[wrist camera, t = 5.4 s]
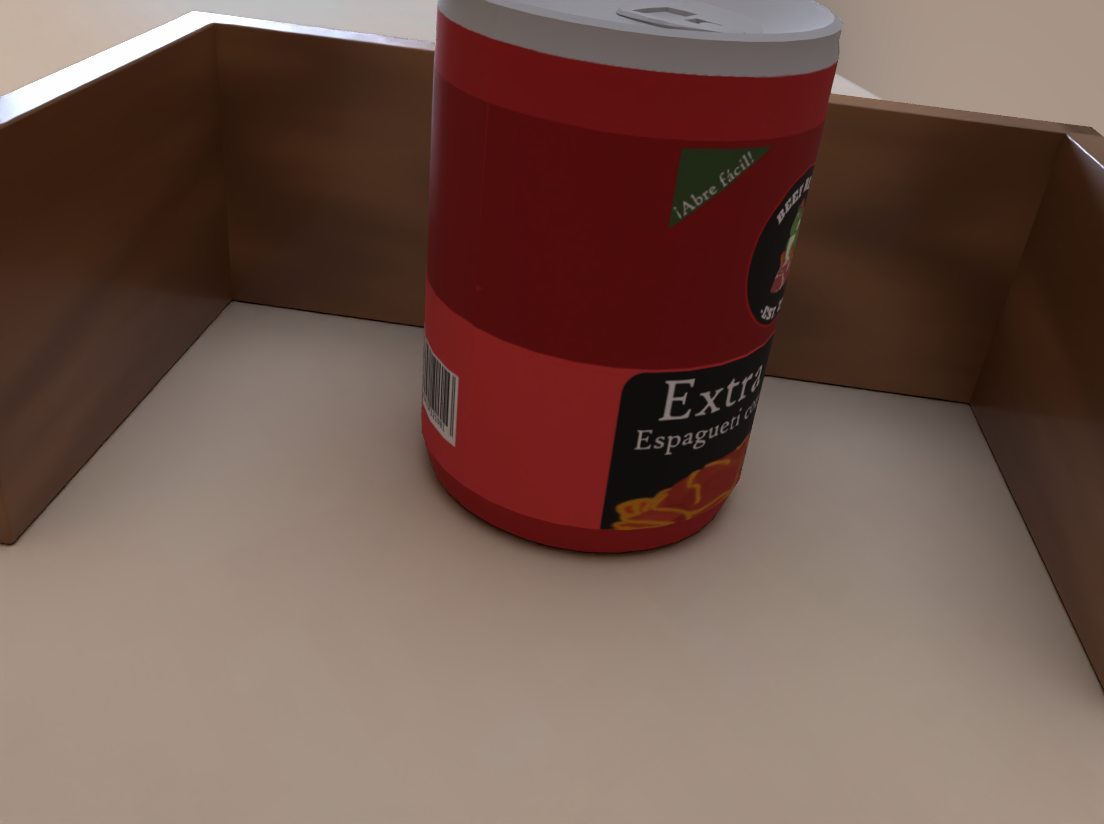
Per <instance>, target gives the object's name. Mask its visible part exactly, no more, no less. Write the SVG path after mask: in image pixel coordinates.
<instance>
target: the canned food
mask: <svg viewBox="0 0 1104 824" xmlns="http://www.w3.org/2000/svg"><path fill="white" fill-rule="evenodd" d="M842 25H843V22H842V21H841V20H840V19H839V18H838V16H837V15H836V14H834V13H833V12H832V11H830V10H829V9H827V8H825V7H824V6H822V5H820V4H818V3H817V2H814V1H812V0H438V2H437V26H436V46H435V55H434V74H433V102H432V131H431V159H430V187H429V216H428V244H427V272H426V300H425V329H424V357H423V385H422V414H421V417H422V434H423V437H424V440H425V444H426V447H427V450H428V453H429V457H430V460H431V462H432V465H433V468H434V470H435V473H436V475H437V477H438V479H439V480H440V482H441V483H442V484H443V486H444V487H445V488H446V490H447V491H448V492H449V494H450V495H451V496H453V497H454V498H455V499H456V500H457V501H458V502H459V503H461V504H462V505H463V506H464V507H465V508H466V509H467V510H469V511H470V512H472V513H473V514H475V515H477V516H478V517H480V518H482V519H483V520H485V521H487V522H488V523H490V524H492V525H493V526H496V527H498V528H500V529H503V530H505V531H507V532H510V533H512V534H514V535H517V536H519V537H521V538H524V539H527V540H531V541H534V542H538V543H542V544H545V545H549V546H552V547H557V548H564V549H570V550H577V551H584V552H611V553H618V552H627V551H637V550H647V549H652V548H655V547H659V546H663V545H667V544H671V543H674V542H677V541H679V540H681V539H683V538H685V537H688V536H690V535H692V534H694V533H696V532H698V531H699V530H700V529H701V528H703V527H704V526H705V525H706V524H708V523H709V522H710V521H711V520H712V519H714V517H715V516H716V514H717V513H718V511H719V510H720V508H721V507H722V505H723V503H724V502H725V500H726V499H727V497H728V496H729V494H730V493H731V491H732V490H733V488H734V487H735V485H736V484H737V482H738V481H739V479H740V474H741V470H742V466H743V462H744V458H745V454H746V449H747V445H748V441H749V437H750V433H751V429H752V424H753V420H754V416H755V412H756V408H757V403H758V399H759V395H760V391H761V387H762V383H763V378H764V374H765V370H766V366H767V362H768V357H769V353H770V349H771V345H772V341H773V337H774V332H775V328H776V324H777V320H778V316H779V312H780V307H781V303H782V299H783V295H784V291H785V286H786V282H787V278H788V274H789V270H790V266H791V261H792V257H793V253H794V249H795V245H796V241H797V236H798V232H799V228H800V224H801V220H802V215H803V211H804V207H805V203H806V199H807V195H808V190H809V186H810V182H811V178H812V174H813V170H814V165H815V161H816V157H817V153H818V149H819V144H820V140H821V136H822V132H823V128H824V124H825V119H826V114H827V109H828V103H829V97H830V93H831V88H832V84H833V80H834V76H835V71H836V67H837V63H838V58H839V39H840V34H841V30H842Z"/></svg>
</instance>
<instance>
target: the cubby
mask: <svg viewBox="0 0 1104 824" xmlns="http://www.w3.org/2000/svg"><path fill="white" fill-rule="evenodd" d="M435 46H436V43H435V42H427V41H419V40H412V39H404V38H396V37H388V36H381V35H373V34H365V33H357V32H350V31H342V30H334V29H326V28H319V27H311V26H303V25H295V24H288V23H280V22H272V21H264V20H257V19H249V18H241V17H233V16H226V15H218V14H210V13H202V12H195V11H194V12H191V13H189V14H187V15H185V16H182V17H180V18H179V19H176V20H174V21H172V22H170V23H167V24H165V25H163V26H161V27H158V28H156V29H154V30H152V31H149V32H147V33H145V34H142V35H140V36H138V37H136V38H133V39H131V40H129V41H127V42H124V43H122V44H120V45H118V46H115V47H113V48H111V49H109V50H106V51H104V52H102V53H99V54H97V55H95V56H93V57H90V58H88V59H86V60H84V61H81V62H79V63H77V64H75V65H72V66H70V67H68V68H65V69H63V70H61V71H59V72H56V73H54V74H52V75H50V76H47V77H45V78H43V79H41V80H38V81H36V82H34V83H31V84H29V85H27V86H25V87H22V88H20V89H18V90H16V91H13V92H11V93H9V94H7V95H4V96H2V97H0V542H2V543H8V544H11V543H13V542H14V541H15V540H16V539H17V538H18V537H19V536H20V535H21V534H22V532H23V531H24V530H25V529H26V528H27V527H28V526H29V525H30V524H31V522H32V521H33V520H34V519H35V518H36V517H37V516H38V515H39V513H40V512H41V511H42V510H43V509H44V508H45V507H46V506H47V505H48V503H49V502H50V501H51V500H52V499H53V498H54V497H55V496H56V495H57V493H58V492H59V491H60V490H61V489H62V488H63V487H64V486H65V485H66V483H67V482H68V481H69V480H70V479H71V478H72V477H73V476H74V474H75V473H76V472H77V471H78V470H79V469H80V468H81V467H82V466H83V464H84V463H85V462H86V461H87V460H88V459H89V458H90V457H91V456H92V454H93V453H94V452H95V451H96V450H97V449H98V448H99V447H100V446H101V444H102V443H103V442H104V441H105V440H106V439H107V438H108V437H109V436H110V434H111V433H112V432H113V431H114V430H115V429H116V428H117V427H118V425H119V424H120V423H121V422H122V421H123V420H124V419H125V418H126V417H127V415H128V414H129V413H130V412H131V411H132V410H133V409H134V408H135V407H136V405H137V404H138V403H139V402H140V401H141V400H142V399H143V398H144V397H145V395H146V394H147V393H148V392H149V391H150V390H151V389H152V388H153V386H154V385H155V384H156V383H157V382H158V381H159V380H160V379H161V378H162V376H163V375H164V374H165V373H166V372H167V371H168V370H169V369H170V368H171V366H172V365H173V364H174V363H175V362H176V361H177V360H178V359H179V358H180V356H181V355H182V354H183V353H184V352H185V351H186V350H187V349H188V348H189V346H190V345H191V344H192V343H193V342H194V341H195V340H196V339H197V337H198V336H199V335H200V334H201V333H202V332H203V331H204V330H205V329H206V327H207V326H208V325H209V324H210V323H211V322H212V321H213V320H214V319H215V317H216V316H217V315H218V314H219V313H220V312H221V311H222V310H223V309H224V307H225V306H226V305H227V304H228V303H229V302H230V301H231V300H239V301H246V302H253V303H260V304H267V305H275V306H282V307H289V308H296V309H303V310H310V311H317V312H324V313H331V314H339V315H346V316H353V317H360V318H367V319H374V320H381V321H388V322H396V323H403V324H410V325H417V326H424V327H425V300H426V272H427V244H428V216H429V187H430V159H431V131H432V102H433V74H434V55H435ZM765 374H766V375H773V376H780V377H787V378H794V379H801V380H808V381H816V382H823V383H830V384H837V385H844V386H851V387H858V388H865V389H873V390H880V391H887V392H894V393H901V394H908V395H915V396H922V397H929V398H937V399H944V400H951V401H958V402H965V403H970V405H971V407H972V409H973V412H974V414H975V416H976V418H977V420H978V422H979V424H980V426H981V429H982V431H983V433H984V435H985V437H986V439H987V441H988V443H989V446H990V448H991V450H992V452H993V454H994V456H995V458H996V461H997V463H998V465H999V467H1000V469H1001V471H1002V473H1003V475H1004V478H1005V480H1006V482H1007V484H1008V486H1009V488H1010V490H1011V492H1012V495H1013V497H1014V499H1015V501H1016V503H1017V505H1018V507H1019V510H1020V512H1021V514H1022V516H1023V518H1024V520H1025V522H1026V524H1027V527H1028V529H1029V531H1030V533H1031V535H1032V537H1033V539H1034V542H1035V544H1036V546H1037V548H1038V550H1039V552H1040V554H1041V556H1042V559H1043V561H1044V563H1045V565H1046V567H1047V569H1048V571H1049V573H1050V576H1051V578H1052V580H1053V582H1054V584H1055V586H1056V588H1057V591H1058V593H1059V595H1060V597H1061V599H1062V601H1063V603H1064V605H1065V608H1066V610H1067V612H1068V614H1069V616H1070V618H1071V620H1072V622H1073V625H1074V627H1075V629H1076V631H1077V633H1078V635H1079V637H1080V640H1081V642H1082V644H1083V646H1084V648H1085V650H1086V652H1087V654H1088V657H1089V659H1090V661H1091V663H1092V665H1093V667H1094V669H1095V671H1096V674H1097V676H1098V678H1099V680H1100V682H1101V684H1102V686H1103V689H1104V137H1103V136H1102V135H1101V134H1099V133H1098V132H1097V131H1096V130H1094V129H1093V128H1092V127H1086V126H1079V125H1071V124H1063V123H1055V122H1048V121H1040V120H1032V119H1024V118H1017V117H1009V116H1001V115H993V114H986V113H978V112H969V111H962V110H954V109H946V108H939V107H931V106H923V105H916V104H908V103H900V102H892V101H885V100H877V99H869V98H862V97H854V96H846V95H838V94H831V93H830V97H829V103H828V109H827V114H826V119H825V124H824V128H823V132H822V136H821V140H820V144H819V149H818V153H817V157H816V161H815V165H814V170H813V174H812V178H811V182H810V186H809V190H808V195H807V199H806V203H805V207H804V211H803V215H802V220H801V224H800V228H799V232H798V236H797V241H796V245H795V249H794V253H793V257H792V261H791V266H790V270H789V274H788V278H787V282H786V286H785V291H784V295H783V299H782V303H781V307H780V312H779V316H778V320H777V324H776V328H775V332H774V337H773V341H772V345H771V349H770V353H769V357H768V362H767V366H766V370H765Z"/></svg>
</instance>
